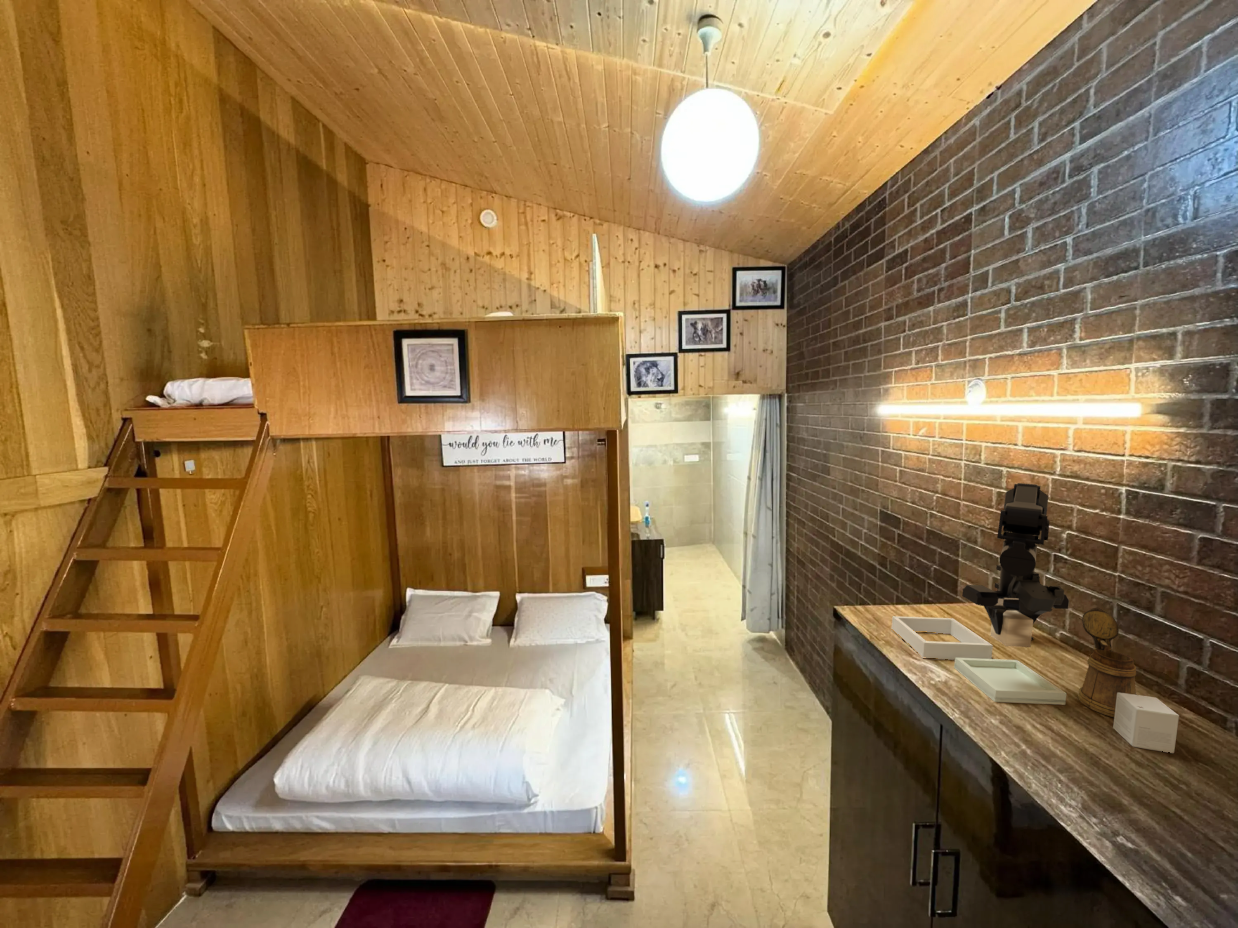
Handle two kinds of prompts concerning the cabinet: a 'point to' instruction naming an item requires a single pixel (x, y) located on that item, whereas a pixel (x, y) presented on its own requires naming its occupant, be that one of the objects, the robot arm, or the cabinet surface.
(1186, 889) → the cabinet surface
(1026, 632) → the birch block
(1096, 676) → the wooden mug
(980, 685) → the sage tray
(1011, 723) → the cabinet surface
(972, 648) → the white square frame
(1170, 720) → the product box
